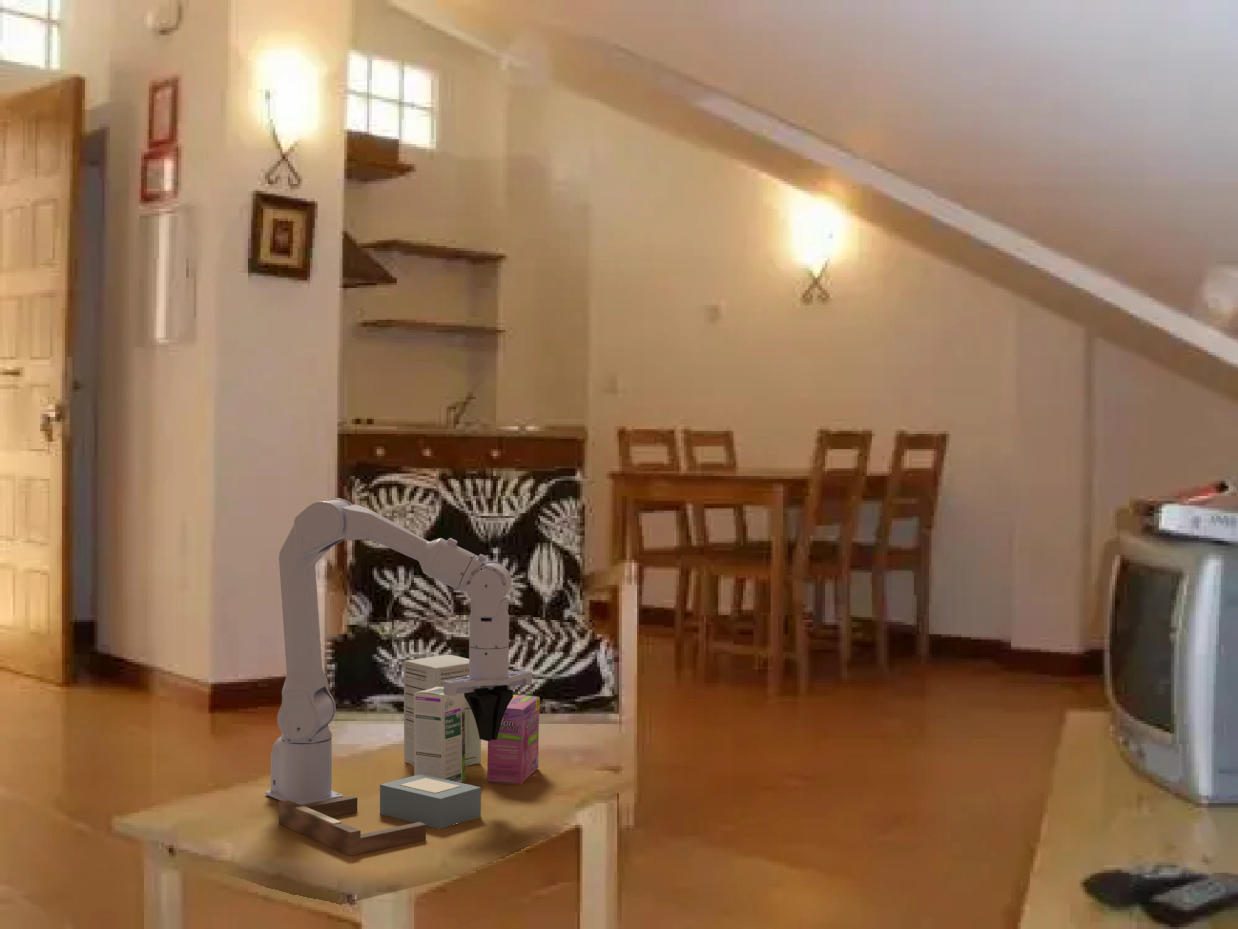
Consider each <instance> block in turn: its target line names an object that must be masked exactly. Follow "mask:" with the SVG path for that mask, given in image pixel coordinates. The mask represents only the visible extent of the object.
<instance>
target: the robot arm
mask: <svg viewBox="0 0 1238 929" xmlns="http://www.w3.org/2000/svg"><path fill="white" fill-rule="evenodd" d="M357 540H358V541H359V540H370V541H374V542H375V543H378V544H380V545H382V546H385V547H387V548H389V549H392V550H394V551H395V552H398V553H400V554H402V555H404V556H405V557H406V556H407V557H408V558H412V559H413V560H416V561H418V562H419V563H418V564H419V565H420V568H421V570H422V573H423V574H425V575H427V576H429V577H431V578H433V579H435V580H437V581H439V582H440V583H443V584H444V585H447V586H449V587H451V588H453V589H455V590H457V591H458V592H461V593H462V592H465V593H466V594H467V597H468V598H469V599H470V614H469V636H468V638H469V642H468V643H469V645H468V646H469V648H468V649H469V650H468V659H469V675H468V676H464V677H460V678H456V679H452V680H446V681H444V694H445V695H449V696H456V695H457V694H462V693H464V697H465V699H466V700H467V702H468V704H469V706H470V708H471V710H472V713H473V715H474V718H475V721H476V725H477V729H478V733H479V738H480V739H481V741H486V742H488V741H491V740H497V737H498V733H499V729H500V725H501V722H502V719H503V716H504V713H505V711H506V709H507V707H508V705H509V703H510V701H511V700H512V698H513V695H514V691H513V690H511V689H509V688H512V687H516V686H517V687H519V686H532V685H533V671H529V670H524V669H523V670H514V671H513V670H512V671H509V664H510V663H509V661H510V660H509V659H510V658H509V657H510V656H509V653H510V651H509V648H510V647H509V646H510V643H509V642H510V614H509V597H508V596H507V595H508V594H509V592H510V590H511V587H512V576H511V574H510V572H509V570H508V568H506V567H505V566H504V565H502V564H501V563H500V562H499V561H497V560H489V561H488V560H487V561H486V559H487V556H486V555H484V554H481V553H480V554H479V555H476V554H475V553H472V552H471V551H469V550H467V549H465V548H462V547H460V546H458V545H457V544H458V541H457V540H456V539H454V538H452V537H450V538H447V540H446V539H444V538H442V537H440V538H436V539H433V540H431V541H429V540H427V539H425V538H424V537H421V536H420V535H417V534H416V533H414V532H412V531H410V530H409V529H407V528H405V527H403V526H401V525H400V524H397V523H396V522H394V521H392V520H390V519H388V518H387V517H384V516H383V515H380V514H379V513H377V512H375V511H373V510H371V509H369V508H367V507H365V506H363V505H360V504H352V503H351V502H350V501H349V500H347V499H343V498H339V497H338V498H331V499H328V500H325V501H323V500H322V501H321V500H319V501H316V502H313V503H311V504H310V505H308V506H307V507H306V508H304V509H303V510H302V511H301V512H300V513H299V514H298V515H296V516H295V517H294V521H293V525H292V527H291V529H290V531H289V533H288V535H287V537H286V539H285V540H284V543H283V544H282V547H281V548H280V551H279V554H278V563H279V564H278V565H279V580H280V593H281V594H280V595H281V609H282V623H283V637H284V638H283V639H284V652H285V653H284V655H285V667H286V668H285V669H286V676H285V679H284V682H283V686H282V690H281V704H280V707H279V709H278V712H277V717H276V723H277V727H278V729H279V731H280V732H281V735H280V736H279V737H278V738H276V740H275V741H274V743H273V744H272V748H271V750H270V789H269V790H266V791H264V794H265V795H266V796H269V797H271V798H273V799H276V800H277V801H279V802H281V801H287V800H290V801H292V802H294V803H297V804H299V805H304V804H309V803H315V802H320V801H325V800H331V799H336V798H342V797H344V795H343V794H341V793H339V792H337V791H334V790H333V789H332V781H333V780H332V779H333V778H332V776H333V775H332V771H333V770H332V764H333V763H332V762H333V761H332V760H333V758H332V750H333V746H332V745H333V743H332V742H333V741H332V740H333V739H332V736H333V733H332V731H331V730H330V727H329V724H330V723H331V722H333V719H334V718H335V715H336V712H337V708H336V701H335V699H334V696H333V695H332V694H331V692H330V690H329V682H328V678H327V676H326V674H325V672H324V669H323V662H322V661H323V659H322V648H321V647H322V644H321V633H320V632H321V630H320V614H319V602H318V601H319V599H318V589H317V588H318V587H317V572H316V571H317V570H316V564H317V562H319V561H320V560H321V559H322V557H324V556H325V554H326V553H327V552H329V551H330V549H331V548H332V547H334V546H337V545H338V544H340V543H342V542H344V541H357ZM506 596H507V597H506ZM473 687H474V688H473Z"/></svg>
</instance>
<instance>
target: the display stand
mask: <svg viewBox="0 0 1238 929" xmlns="http://www.w3.org/2000/svg"><path fill="white" fill-rule="evenodd" d="M357 812H358V797H357V796H354V795H348V796H343V797H342V798H336V799H331V800H325V801H320V802H315V803H309V804H304V805H299V804H297V803H294V802H292V801H290V800H287V801H278V824H279V825H281V826H283V827H285V828H288V829H290V830H292V831H295V832H296V833H298V834H301V835H304V836H306V837H307V838H310V839H312V840H314V841H317V842H319V843H321V844H323V845H326V846H327V847H330V848H332V849H335V850H336V851H339V852H341V853H343V854H346V855H347V856H349V857H350V856H356V855H359V854H364V853H369V852H374V851H378V850H383V849H387V848H393V847H397V846H402V845H405V844H406V845H407V844H411V843H416V842H419V841H424V840H427V826H426V824H424V823H421V822H417V823H413V822H411V823H409V824H408V823H407V824H403V825H399V826H394V827H389V828H384V829H379V830H376V831H371V832H370V831H369V832H365V833H361V829H358V828H356V827H353V826H351V825H349V824H346V823H344V822H342V821H341V820H338V819H336V818H333V817H337V816H341V815H342V816H343V815H347V814H352V813H357Z"/></svg>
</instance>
